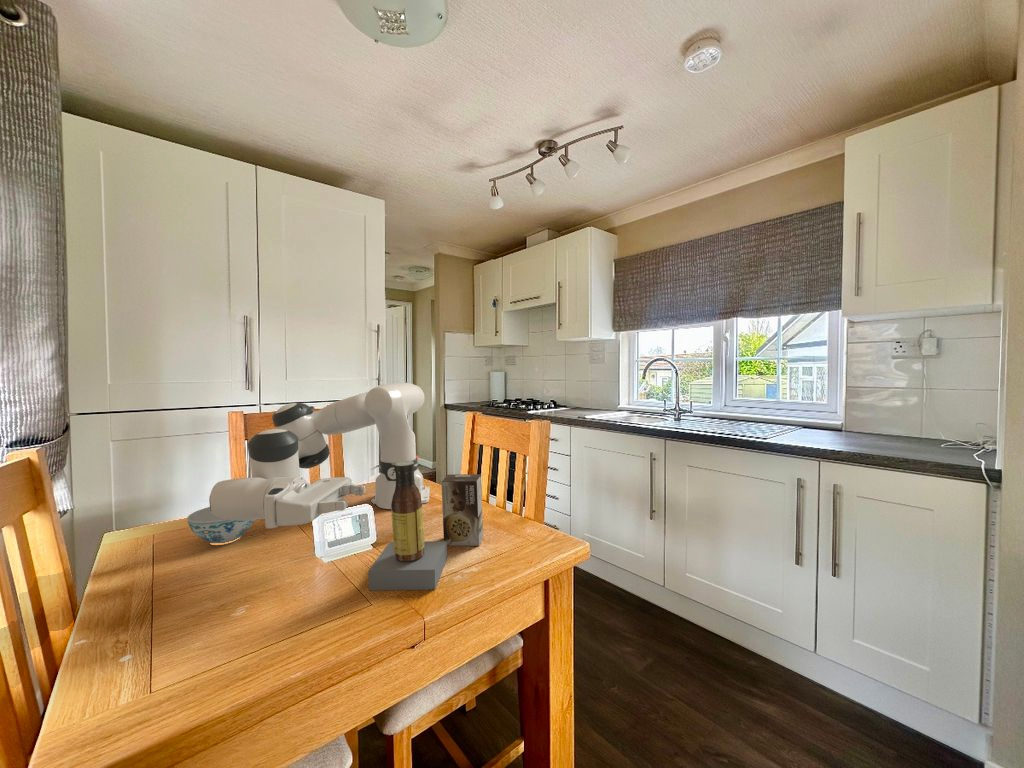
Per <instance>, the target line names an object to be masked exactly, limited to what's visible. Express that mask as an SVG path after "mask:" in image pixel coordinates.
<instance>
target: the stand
mask: <svg viewBox="0 0 1024 768" xmlns="http://www.w3.org/2000/svg"><path fill="white" fill-rule="evenodd" d="M447 561H448V545H447V541H444V540H439V541H438V540H434V541H425V540H424V554H423V556H422V557H421V558H419V559H417V560H413V561H409V562H404V561H399V560H398V559H396V556H395V552H394V543H393V541H389V542H388V543H387V545H386V546H385V547H384V548H383V550H382V552H381V553H380V554H379V556H378V557H377V558H376V560H375V561H374V562H373V563H372V565H371V566H370V568H369V569H368V590H369V591H430V590H431V591H433V590H432V589H435V590H436V589H437V587H436V586H438V583H439V582H440V581H439V580H440V579H439V578H441V575H442V573H443V570H444V568H445V565H446V562H447ZM429 589H430V590H429Z"/></svg>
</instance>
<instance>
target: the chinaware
mask: <svg viewBox="0 0 1024 768" xmlns="http://www.w3.org/2000/svg"><path fill="white" fill-rule="evenodd" d="M186 518H187V519H186V521H187V524H188V526H189V528H190V530H191V531H192V533H193V534H194V535H195V536H196V537H198V538H199V539H201V540H203V541H205V542H210V543H225V542H229V541H233V540H235V539H237V538H239V537H240V536H241V537H242V535H244V533H246V532H247V531H248V530H249V529H250V528H251V527H252V525H253V524H254V522H255V521H256V520H254V521H236V520H225V519H220V518H217V517H215V516H214V515H213V514H212V512H211V510H210V506H207V507H204V508H201V509H198V510H196V511H194V512H192V513H190V514H189V515H188V516H187V517H186Z"/></svg>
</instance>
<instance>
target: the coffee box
mask: <svg viewBox="0 0 1024 768" xmlns="http://www.w3.org/2000/svg"><path fill="white" fill-rule="evenodd" d="M440 485H441V498H442V499H441V500H442V501H441V502H442V503H441V505H442V528H443V529H442V533H443V541H447V546H457V547H458V546H461V547H462V546H465V547H467V546H468V547H472V546H473V547H479V546H480V545H481V544H482V543H481V542H482V540H483V538H484V523H483V522H484V521H483V520H484V518H483V517H484V516H483V493H482V492H483V491H482V473H480V474H479V473H477V474H473V473H472V474H467V473H466V474H465V473H464V474H447V475H445V477H444V478H443V480H441V482H440Z"/></svg>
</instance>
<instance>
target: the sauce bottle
mask: <svg viewBox="0 0 1024 768" xmlns="http://www.w3.org/2000/svg"><path fill="white" fill-rule="evenodd" d="M414 468H415V466H414V462H413V461H401V462H397V463H395V464H394V471H395V472H396V487H395V492H394V494H393V498H392V503H391V509H390V510H391V521H392V523H391V524H392V539H393V541H392V542H393V543H394V552H395V556H396V559H398V560H399V561H404V562H409V561H413V560H417V559H419V558H421V557H422V556H423V554H424V541H425V529H424V517H423V515H424V513H423V505H422V504H423V503H421V494H420V492H419V489H418V488H417V486H416V485H415V480H414Z"/></svg>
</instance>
